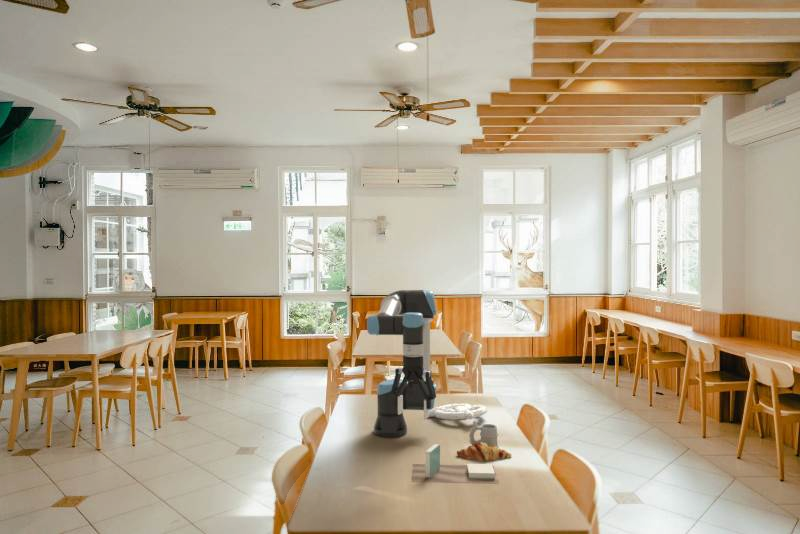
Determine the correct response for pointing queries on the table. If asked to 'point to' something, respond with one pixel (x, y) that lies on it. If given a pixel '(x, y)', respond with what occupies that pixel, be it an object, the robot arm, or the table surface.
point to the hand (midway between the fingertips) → (413, 415)
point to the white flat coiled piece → (458, 411)
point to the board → (448, 475)
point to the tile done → (480, 471)
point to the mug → (485, 434)
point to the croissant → (483, 452)
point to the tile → (432, 460)
